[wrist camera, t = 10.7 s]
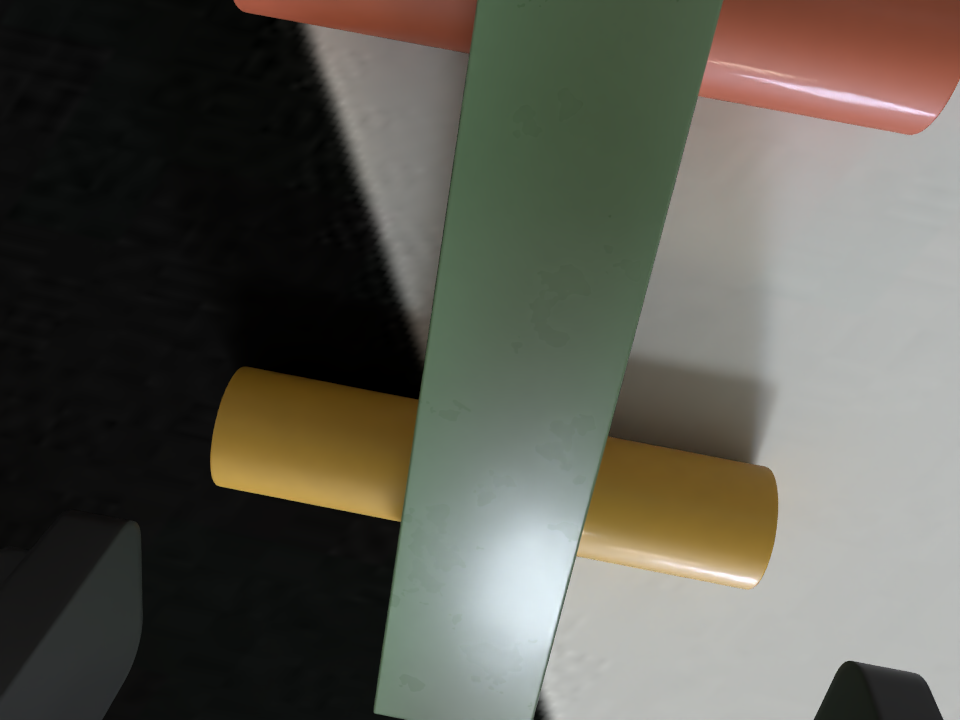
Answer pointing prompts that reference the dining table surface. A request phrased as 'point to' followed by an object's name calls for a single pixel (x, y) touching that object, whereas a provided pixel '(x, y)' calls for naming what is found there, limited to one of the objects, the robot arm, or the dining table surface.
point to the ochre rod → (386, 456)
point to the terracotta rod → (743, 50)
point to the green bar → (531, 334)
